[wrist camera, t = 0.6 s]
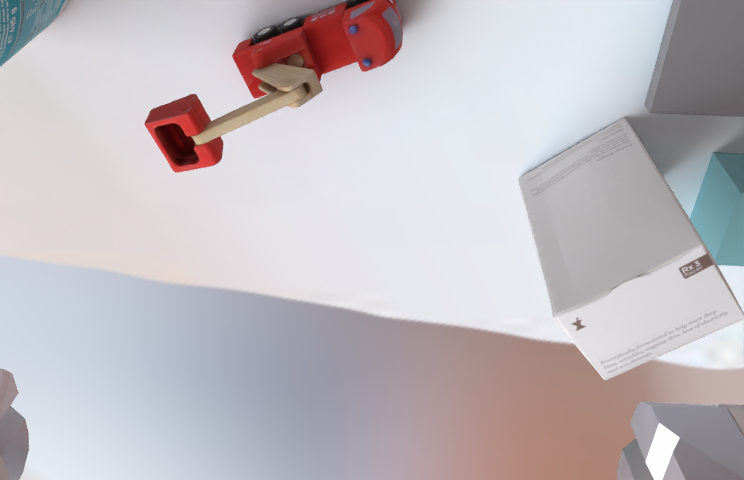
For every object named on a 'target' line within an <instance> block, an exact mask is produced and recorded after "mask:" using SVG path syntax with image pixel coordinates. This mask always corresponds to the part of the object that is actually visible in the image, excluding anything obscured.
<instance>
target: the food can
mask: <svg viewBox="0 0 744 480" xmlns="http://www.w3.org/2000/svg"><path fill="white" fill-rule="evenodd" d="M68 2H69V0H0V66H2V65H3V64H4V63H5V62H6V61H8V60H9V59H10V58H11V57H12V56H13V55H15V54H16V53H17V52H18V51H19V50H21V49H22V48H23V47H24V46H25V45H26V44H28V43H29V42H30V41H31V40H32V39H33V38H35V37H36V36H37V35H38V34H39V33H41V32H42V31H43V30H44V29H45V28H46V27H48V26H49V25H50V24H51V23H52V22H53V21H54V20H55V19H56V18H57V17H58V16H59V15H60V14H61V13H62V12H63V10H64V9H65V8H66V6H67V4H68Z"/></svg>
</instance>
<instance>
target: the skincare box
mask: <svg viewBox="0 0 744 480" xmlns="http://www.w3.org/2000/svg"><path fill="white" fill-rule="evenodd" d="M518 181H519V186H520V189H521V193H522V196H523V200H524V204H525V207H526V211H527V215H528V219H529V222H530V226H531V230H532V234H533V238H534V241H535V245H536V249H537V253H538V258H539V261H540V265H541V269H542V272H543V276H544V280H545V284H546V288H547V291H548V295H549V299H550V303H551V308H552V314H553V318H554V319H555V321H556V322H557V323H558V324H559V325H560V326H561V328H562V329H563V330H564V332H565V333H566V334H567V335H568V337H569V338H570V339H571V340H572V341H573V343H574V344H575V345H576V346H577V347H578V349H579V350H580V351H581V352H582V354H583V355H584V356H585V357H586V358H587V360H588V361H589V362H590V363H591V364H592V366H593V367H594V368H595V369H596V370H597V371H598V373H599V374H600V375H601V377H602V378H603V379H604V380H607V379H610V378H612V377H614V376H617V375H619V374H621V373H623V372H625V371H628V370H630V369H632V368H634V367H637V366H639V365H641V364H643V363H645V362H648V361H650V360H652V359H654V358H656V357H659V356H661V355H663V354H665V353H668V352H670V351H672V350H674V349H677V348H679V347H681V346H684V345H686V344H688V343H690V342H693V341H695V340H697V339H699V338H702V337H704V336H706V335H708V334H711V333H713V332H715V331H717V330H720V329H722V328H724V327H727V326H729V325H731V324H734V323H736V322H738V321H741V320H743V319H744V313H743V311H742V309H741V307H740V305H739V304H738V302H737V300H736V298H735V296H734V294H733V292H732V291H731V289H730V287H729V285H728V283H727V282H726V280H725V278H724V276H723V274H722V273H721V271H720V269H719V267H718V266H717V264H716V262H715V260H714V258H713V257H712V255H711V253H710V252H709V250H708V248H707V247H706V245H705V243H704V242H703V240H702V238H701V237H700V235H699V234H698V232H697V230H696V229H695V227H694V225H693V224H692V222H691V220H690V219H689V217H688V215H687V214H686V212H685V211H684V209H683V208H682V206H681V204H680V203H679V201H678V200H677V198H676V196H675V195H674V193H673V192H672V190H671V188H670V187H669V185H668V184H667V182H666V181H665V179H664V177H663V176H662V174H661V173H660V171H659V169H658V168H657V166H656V165H655V163H654V161H653V160H652V158H651V157H650V155H649V153H648V152H647V150H646V149H645V147H644V145H643V144H642V142H641V141H640V139H639V137H638V136H637V134H636V133H635V131H634V130H633V128H632V126H631V125H630V123H629V122H628V120H627V119H626V118H622V119H620V120H618V121H617V122H615V123H613V124H611V125H610V126H608V127H606V128H605V129H603V130H601V131H599V132H597V133H596V134H594V135H592V136H591V137H589V138H587V139H585V140H584V141H582V142H580V143H578V144H577V145H575V146H573V147H571V148H570V149H568V150H566V151H564V152H563V153H561V154H559V155H557V156H556V157H554V158H552V159H550V160H549V161H547V162H546V163H544V164H542V165H541V166H539V167H537V168H536V169H534V170H532V171H530V172H528V173H527V174H525V175H523V176H521V177H519V179H518Z"/></svg>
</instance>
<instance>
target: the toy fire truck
mask: <svg viewBox="0 0 744 480" xmlns="http://www.w3.org/2000/svg"><path fill="white" fill-rule="evenodd" d="M280 31H281V32H282V33H283V34H281V35H279V36H277V31H276V29H275V28H274V27H273V26H272V27H267V28H264V29H262V30H260V31H259V32H258V33H256V34H255V35H254V39H255V42H256V44H255V43H254V41H253V40H252V39H248V40H245V41H243V42H241V43H239V44H238V46H237V48H236V49H235V52H234V53H233V55H232V56H233V59H234V61H235V63H236V65H237V67H238V69H239V71H240V73H241V75H242V77H243V79H244V80H245V82H246V84H247V86H248V88H249V90H250V92H251V94H252V96H253V97H254V98H259V97H261V96H264V95H267V94H268V95H267V96H265V97H263V98H261V99H258V100H256V101H254V102H252V103H250V104H248V105H245V106H243V107H241V108H239V109H237V110H234V111H232V112H230V113H228V114H226V115H224V116H222V117H220V118H217V119H215V120H213V121H211V120H210V118H209V116H208V114H207V113H206V111H205V109H204V108H203V106H202V104H201V102H200V100H199V99H198V97H197V95H196V94H191V95H189V96H186V97H184V98H181V99H178V100H175V101H173V102H171V103H168V104H165V105H162V106H159V107H157V108H154V109H152V110H151V111H150V113H149V116H148V118H147V120H146V121H145V126H146V128H147V129H148V131H149V133H150V134H151V135H152V137H153V139H154V140H155V142H156V143H157V145H158V147H159V148H160V150H161V151H162V153H163V154H164V156H165V158H166V159H167V161H168V163H169V164H170V166H171V168H172V170H173V171H174V172H183V171H188V170H193V169H198V168H204V167H209V166H213V165H215V164H217V163H218V162H219V161H220V160H221V159H222V151H223V140H222V139H221V137H220V136H221V135H223V134H226V133H228V132H230V131H232V130H234V129H237V128H239V127H241V126H243V125H245V124H248V123H250V122H252V121H254V120H256V119H259V118H261V117H263V116H265V115H267V114H269V113H272V112H274V111H276V110H278V109H280V108H283V107H284V106H286V105H287V106H289V107H293V108H295V107H299V106H301V105H303V104H304V103H306V102H307V101H309V100H310V99H312V98H313V97H314V96H316V95H317V94H319V93H320V92H322V86H321V84H320V80H321V75H322V74H325V73H327V72H330V71H333V70H336V69H338V68H341V67H343V66H346V65H349V64H352V63H355V62H357V61H358V63H359V66H360V68H361V71H368V70H371V69H374V68H376V67H378V66H382V65H384V64H386V63H387V62H389V61H390V60H391V59H393V58H394V56H395V55H396V54H397V53H398V51H399V50H400V48H401V46H402V35H403V32H402V20H401V14H400V11H399V8H398V6H397V3H396V2H395V0H348V3H342V4H339V5H337V6H334V7H331V8H328V9H326V10H324V11H321V12H318V13H317V14H313V15H311V16H308V17H307V18H305V20H304V21H302V19H301V18H299V17H296V18H291V19H289V20H287V21H286V22H284V23H283V24H282V25H281V26H280Z"/></svg>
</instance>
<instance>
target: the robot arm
mask: <svg viewBox="0 0 744 480" xmlns="http://www.w3.org/2000/svg"><path fill="white" fill-rule="evenodd" d="M17 394H18V390H17V387H16V384H15V381H14V378H13V375H12V373H10V372H8V371H6V370H4V369H0V480H19V479H20V477H21V475H22V473H23V470H24V466H25V462H26V458H27V454H28V450H29V448H28V447H29V444H28V443H29V439H28V429H27V425H26V421H25V419H24V417H22V416H21V415H20V414H19V413H18V412H17V411H15V409H13V408H12V407H11V406H10V405H11V404H12V402H13V400H14V399H15V397H16V396H17ZM631 427H632V429H633V432H634V434H635V437H636V439H635V440H633V441H632V442H631V443H630V444H628V445H627V446H626V447H624V448H623V449H622V453H621V456H620V460H619V464H618V469H617V480H744V405H724V404H720V405H710V404H687V403H663V402H641V403H640V404H639V406H638V407H637V408H636V409H635V411H634V415H633V418H632V421H631Z"/></svg>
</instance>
